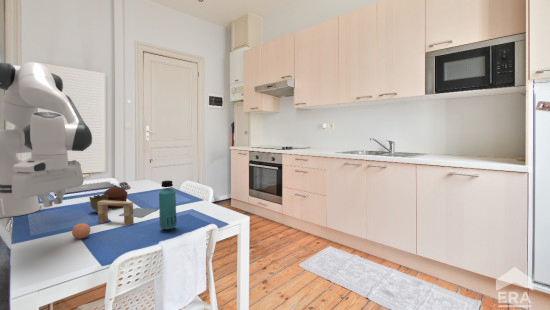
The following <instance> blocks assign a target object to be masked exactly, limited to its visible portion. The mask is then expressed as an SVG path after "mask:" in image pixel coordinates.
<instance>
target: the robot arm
mask: <svg viewBox="0 0 550 310" xmlns="http://www.w3.org/2000/svg"><path fill="white" fill-rule="evenodd" d="M0 90H3V91H5V92H4V95H3V100H2V105H1V106H2V107H1V113H0V115H1V117H2V118H3V120H4V121H6V122H8V123H10V124H12V125H14V126H15V127H14V129H13V128H12V129H0V219H1V218H9V217H18V216H24V215H29V214H32V213H36V212H38V211H40V210H41V209H40V208H42V204H43V207H44V208H49V207H53V204H54V205H60V204H63V198H64V195H65V194H66V190H68V189H72V188H77V187H80V186H82V185H83V184H84V175H83V170H82V167H81V163H80V162H79V161H77V160H75V159H74V160H73V159H72V160H69V159H68V157H69V155H68V151H72V152H83V151H85V150H87V149H88V148H89V147H90V146H92V144H93V135H92V134H93V133H92V132H91V129H90V127H89V126H88V125H87V124H86V122H85V121H84V119H83V118H82V116H81V114H80V112H79V110H78V109H77V107H76V105H75V103H74V102H73V100H72V98H71V97H70V96H69V95H66V94H65V93H63V91H64V84H63V79H62V78H61V77H60V76H59V75H56V74H55V73H52V72H51V71H50V69H49V68H48V67H47V66H45V65H44V64H42V63H40V62H35V61H29V62H25V63H23V64H22V65H16V64H11V63H8V62H0ZM38 109H41V110H47V111H39V112H38ZM49 111H50V112H49ZM64 118H65V120H64ZM65 121H66V123H65ZM25 153H27V154H28V153H31V156H30V158H28V159H26V160H20V159H19V158H18V156H17V154H25ZM55 192H56V194H57V195H56V196H55V197H54V198H53V199H52V200H50V199H49V198H48V197H49V194H50V193H55ZM39 199H40V200H41V202H42V204H40V202H39Z"/></svg>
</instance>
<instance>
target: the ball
mask: <svg viewBox="0 0 550 310" xmlns="http://www.w3.org/2000/svg"><path fill="white" fill-rule="evenodd" d="M90 233H91V227H90V225H89V224H87V223H85V222H84V223H83V222H82V223H77V224H75V225H74V226H73V228H72V230H71V235H72V237H73V238H75V239H79V240H80V239H81V240H82V239H84V238H86V237H88V236H89V235H90Z"/></svg>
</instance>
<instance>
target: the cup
mask: <svg viewBox="0 0 550 310" xmlns="http://www.w3.org/2000/svg"><path fill="white" fill-rule="evenodd" d="M101 200H108V196H107V195H104V196H103V194H101V195H100V194H97V195H95V194H94V195H93V197H92V196H90V197H89V202H90V206H91V208H92V209H93V211H94V210H95V211H94V213H96V214H98V203H97V202H98V201H101Z"/></svg>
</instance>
